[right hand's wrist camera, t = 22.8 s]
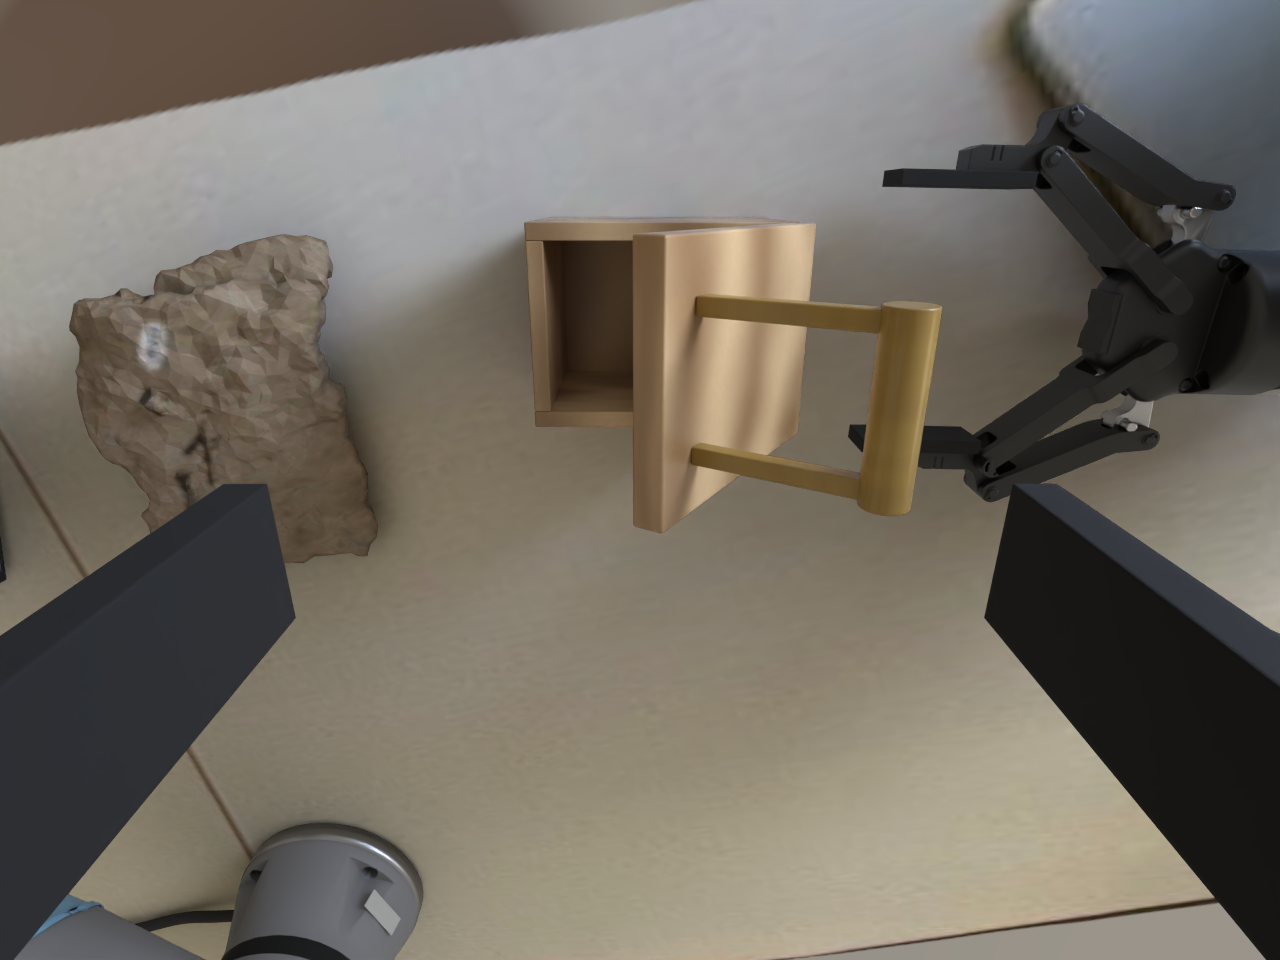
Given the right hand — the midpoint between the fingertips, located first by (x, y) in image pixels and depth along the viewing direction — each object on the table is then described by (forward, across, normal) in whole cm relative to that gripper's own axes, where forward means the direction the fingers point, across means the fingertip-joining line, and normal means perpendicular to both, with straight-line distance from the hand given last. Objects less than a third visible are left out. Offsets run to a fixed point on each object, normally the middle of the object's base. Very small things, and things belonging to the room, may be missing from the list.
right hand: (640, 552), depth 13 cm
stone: (+33, +25, +7) cm, 42 cm away
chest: (+33, -1, 0) cm, 33 cm away
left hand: (+27, -12, 0) cm, 29 cm away
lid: (+17, -3, 0) cm, 18 cm away
